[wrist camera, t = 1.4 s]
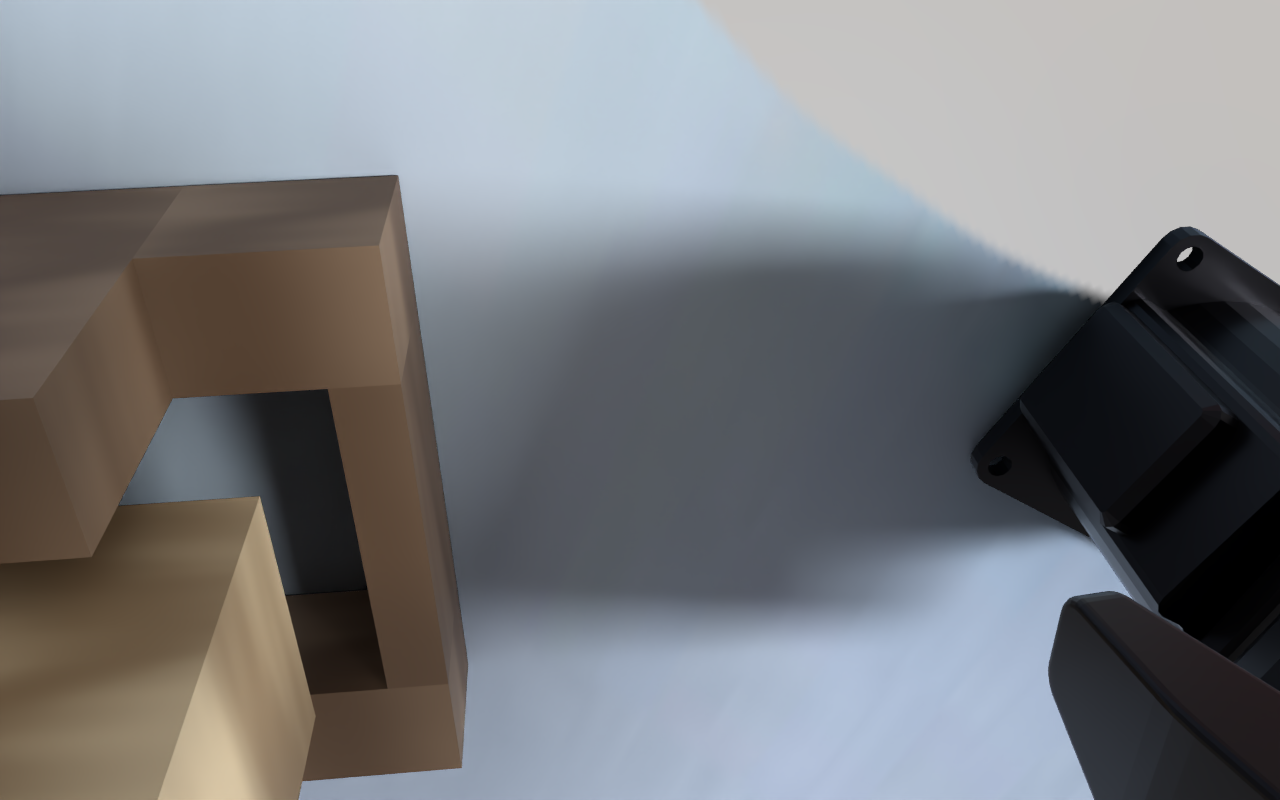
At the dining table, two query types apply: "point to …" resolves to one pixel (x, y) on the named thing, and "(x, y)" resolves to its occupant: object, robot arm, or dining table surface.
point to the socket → (244, 364)
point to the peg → (154, 664)
